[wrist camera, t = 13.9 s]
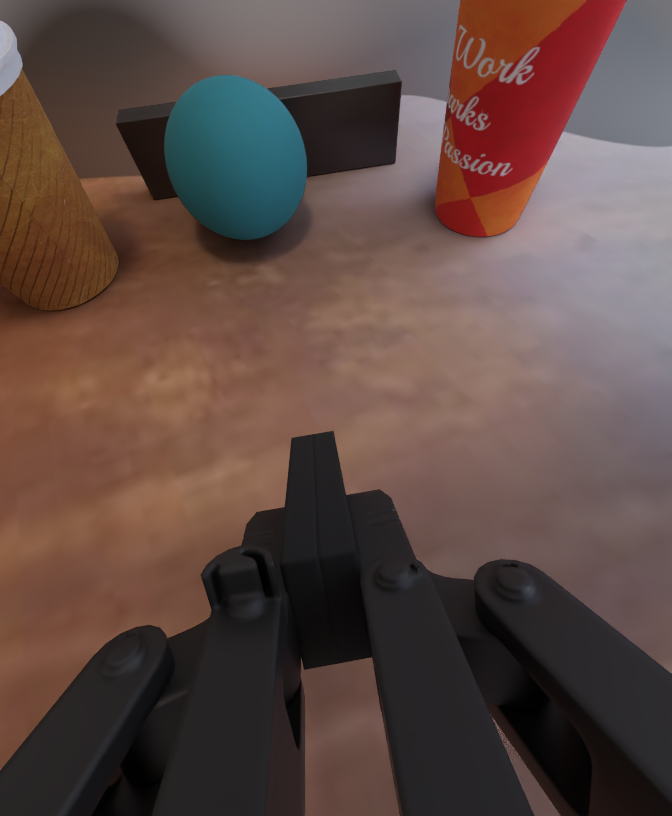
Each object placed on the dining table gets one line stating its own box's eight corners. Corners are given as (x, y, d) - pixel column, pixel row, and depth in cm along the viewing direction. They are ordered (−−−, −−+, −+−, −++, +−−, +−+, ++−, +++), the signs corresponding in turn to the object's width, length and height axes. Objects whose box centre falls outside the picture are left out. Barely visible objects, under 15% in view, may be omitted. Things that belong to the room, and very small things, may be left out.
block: (390, 151, 29) (396, 69, 25) (395, 163, 28) (402, 81, 24) (154, 186, 29) (117, 109, 24) (153, 200, 28) (114, 123, 23)
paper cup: (403, 186, 27) (441, -170, 15) (504, 165, 28) (625, -196, 15) (444, 261, 23) (542, -127, 11) (560, 235, 24) (778, -163, 12)
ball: (324, 108, 18) (333, 238, 25) (259, 21, 20) (285, 162, 28) (162, 170, 17) (221, 285, 24) (115, 70, 19) (182, 203, 27)
